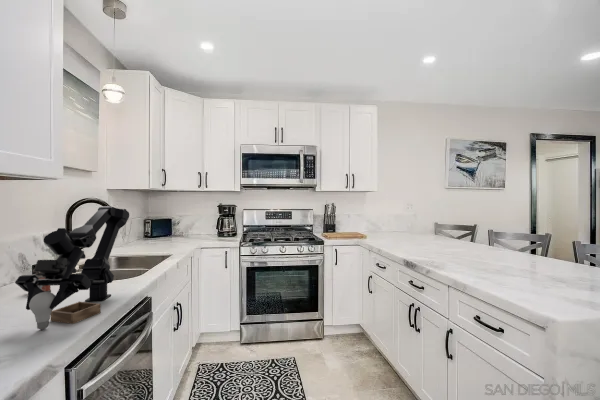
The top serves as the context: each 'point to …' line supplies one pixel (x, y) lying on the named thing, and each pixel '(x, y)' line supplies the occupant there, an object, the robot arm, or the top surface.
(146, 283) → the top surface
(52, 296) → the lightbulb
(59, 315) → the frame
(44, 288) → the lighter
